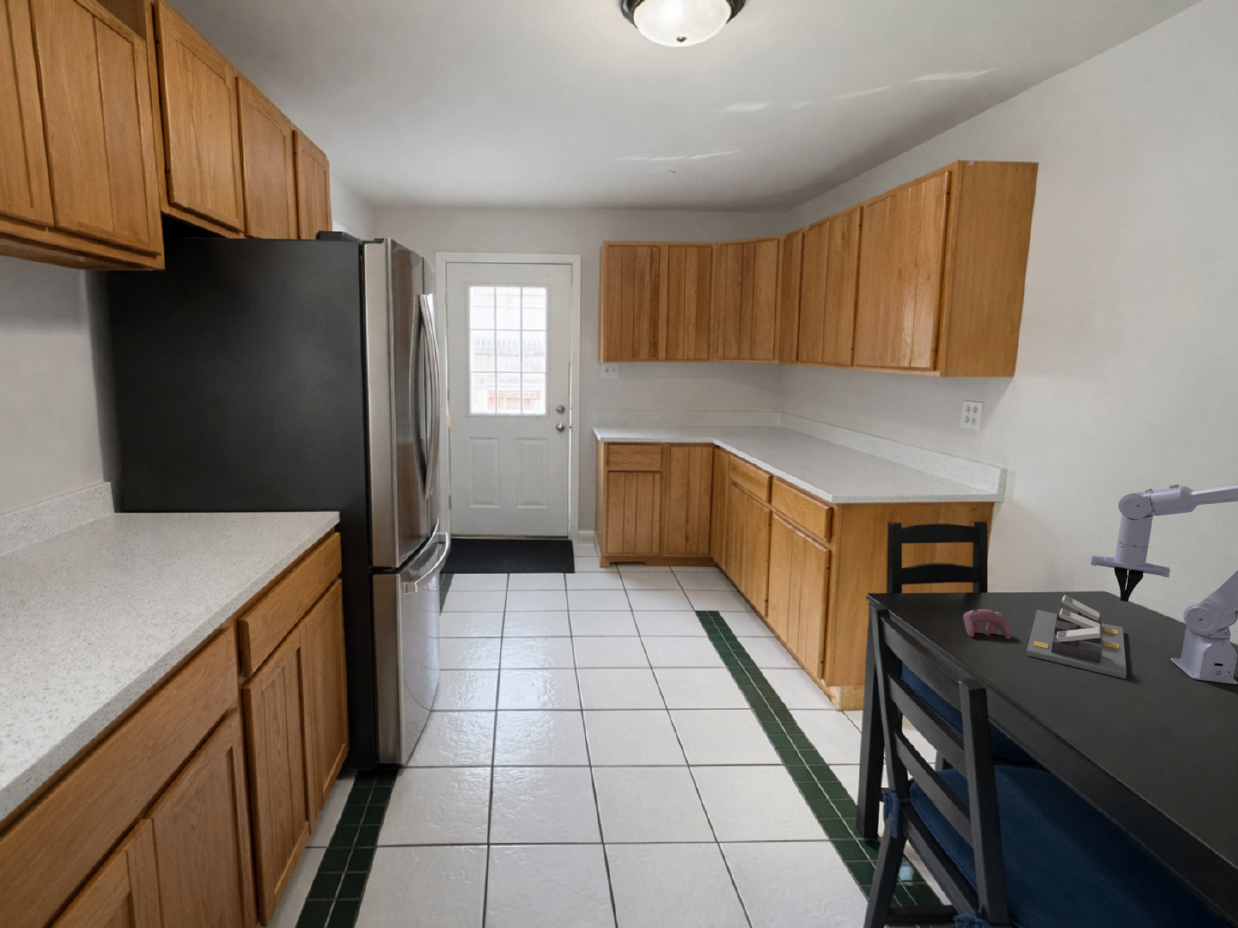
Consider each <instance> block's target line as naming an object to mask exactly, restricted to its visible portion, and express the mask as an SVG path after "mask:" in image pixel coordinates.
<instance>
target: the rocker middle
mask: <svg viewBox="0 0 1238 928" xmlns="http://www.w3.org/2000/svg"><path fill="white" fill-rule="evenodd" d="M1068 610H1069V609H1066V608H1061V611H1060V615H1059V617H1060V618H1063V619H1065V620H1068V621H1070V622H1072V623H1075V624H1077V625H1079V626H1082V627H1084V628H1096V627H1099V629H1100V624H1099V623H1096V622H1094V621H1092V620H1089V619H1087V618H1084V617H1082V616H1079V615H1077V614H1075V613H1072V612H1070V611H1068Z"/></svg>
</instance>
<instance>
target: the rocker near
mask: <svg viewBox="0 0 1238 928" xmlns="http://www.w3.org/2000/svg"><path fill="white" fill-rule="evenodd" d="M1093 638H1101V631H1100V629H1099V627H1096V628H1087V629H1078V630H1069V631H1058V632H1057V640H1058V642H1064V641H1073V640H1083V639H1093Z"/></svg>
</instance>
